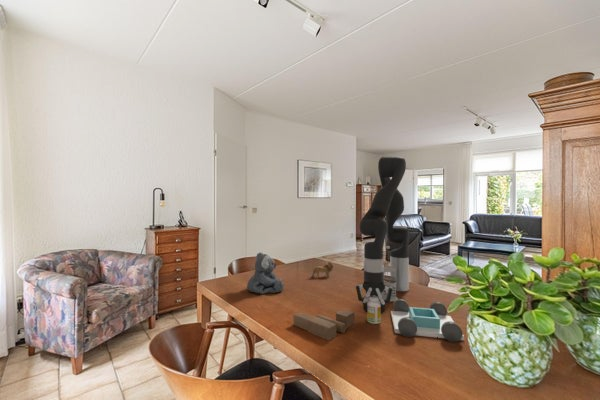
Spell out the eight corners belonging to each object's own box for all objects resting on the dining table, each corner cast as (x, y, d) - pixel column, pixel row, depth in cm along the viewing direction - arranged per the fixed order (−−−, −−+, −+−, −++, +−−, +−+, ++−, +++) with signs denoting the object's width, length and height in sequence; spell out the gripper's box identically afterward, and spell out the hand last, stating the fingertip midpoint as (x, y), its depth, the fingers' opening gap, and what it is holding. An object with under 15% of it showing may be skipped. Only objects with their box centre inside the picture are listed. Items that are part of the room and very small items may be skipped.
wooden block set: (331, 326, 90) (292, 311, 102) (331, 343, 90) (292, 326, 102) (356, 310, 103) (319, 299, 115) (356, 325, 103) (319, 312, 115)
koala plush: (285, 292, 138) (284, 254, 138) (250, 297, 132) (250, 257, 132) (275, 283, 154) (275, 249, 154) (244, 287, 148) (243, 251, 148)
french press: (401, 301, 125) (401, 248, 125) (376, 301, 125) (376, 247, 125) (394, 294, 135) (395, 244, 135) (371, 293, 135) (371, 243, 135)
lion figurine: (332, 274, 170) (332, 260, 170) (335, 277, 165) (335, 262, 165) (309, 276, 166) (309, 262, 166) (312, 279, 161) (312, 264, 161)
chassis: (390, 312, 113) (390, 298, 113) (448, 317, 108) (448, 302, 108) (395, 335, 94) (395, 318, 94) (466, 343, 88) (466, 325, 88)
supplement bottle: (378, 317, 108) (378, 293, 108) (383, 324, 103) (383, 298, 102) (365, 318, 108) (365, 294, 108) (369, 324, 102) (369, 299, 102)
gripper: (392, 267, 107) (392, 310, 107) (355, 265, 110) (355, 307, 111) (393, 272, 100) (394, 318, 100) (354, 270, 103) (354, 314, 103)
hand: (373, 312), depth 105 cm, fingers closed on supplement bottle, 5 cm apart
